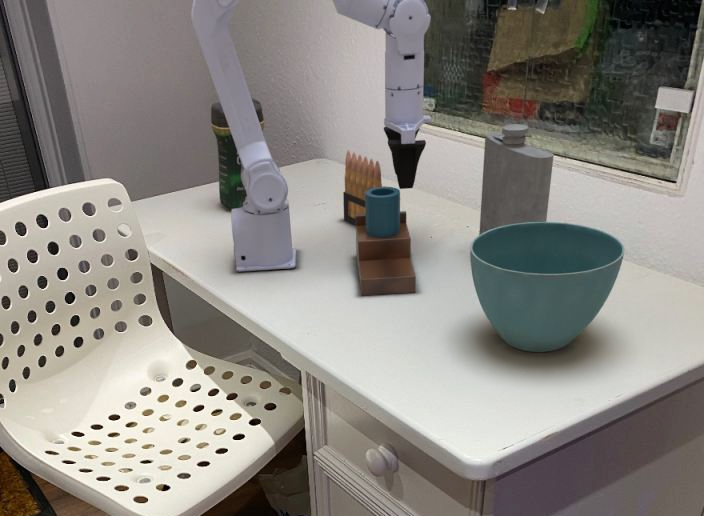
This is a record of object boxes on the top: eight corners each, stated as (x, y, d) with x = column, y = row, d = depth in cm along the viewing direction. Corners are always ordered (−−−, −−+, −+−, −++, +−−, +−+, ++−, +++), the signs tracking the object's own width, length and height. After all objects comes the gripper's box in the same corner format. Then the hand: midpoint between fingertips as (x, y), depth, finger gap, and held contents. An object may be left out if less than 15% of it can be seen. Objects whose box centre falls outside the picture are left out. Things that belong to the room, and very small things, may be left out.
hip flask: (544, 279, 122) (560, 135, 110) (520, 283, 121) (533, 140, 109) (492, 245, 134) (501, 112, 122) (470, 249, 133) (477, 116, 121)
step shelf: (361, 295, 121) (360, 249, 117) (356, 257, 133) (355, 214, 129) (415, 292, 121) (416, 245, 116) (405, 254, 133) (405, 211, 129)
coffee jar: (231, 214, 154) (217, 107, 143) (216, 204, 160) (202, 100, 148) (277, 204, 157) (268, 99, 146) (261, 194, 163) (251, 92, 152)
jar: (367, 238, 124) (366, 198, 120) (365, 227, 128) (364, 187, 125) (401, 236, 124) (401, 196, 120) (398, 225, 128) (398, 185, 124)
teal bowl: (439, 327, 111) (442, 238, 103) (550, 298, 116) (561, 211, 109) (517, 384, 98) (527, 286, 90) (639, 349, 103) (658, 253, 95)
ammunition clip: (385, 233, 141) (385, 160, 134) (376, 236, 140) (375, 162, 133) (352, 218, 149) (349, 148, 141) (343, 220, 148) (340, 150, 141)
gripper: (437, 94, 116) (434, 192, 124) (425, 75, 127) (424, 166, 135) (387, 97, 116) (388, 195, 124) (380, 78, 127) (381, 169, 136)
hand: (403, 180), depth 130 cm, fingers open, 7 cm apart
